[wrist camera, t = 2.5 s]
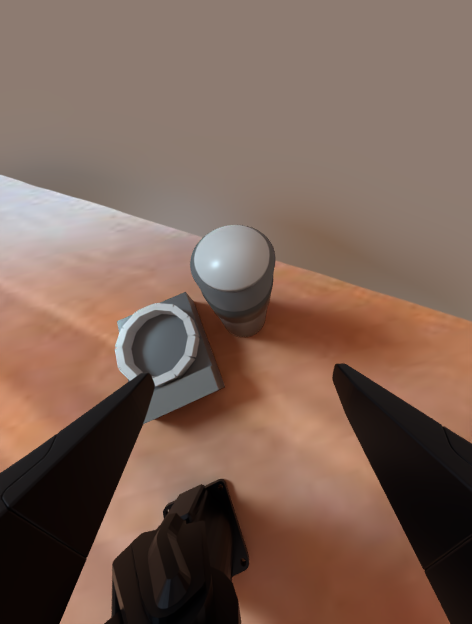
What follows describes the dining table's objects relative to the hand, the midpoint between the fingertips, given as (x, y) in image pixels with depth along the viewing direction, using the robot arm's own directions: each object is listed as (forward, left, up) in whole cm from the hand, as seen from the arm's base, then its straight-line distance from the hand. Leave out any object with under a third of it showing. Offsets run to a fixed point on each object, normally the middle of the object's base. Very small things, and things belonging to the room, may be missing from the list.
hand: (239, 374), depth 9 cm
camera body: (+6, +8, -13) cm, 16 cm away
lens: (+7, -2, -13) cm, 15 cm away
